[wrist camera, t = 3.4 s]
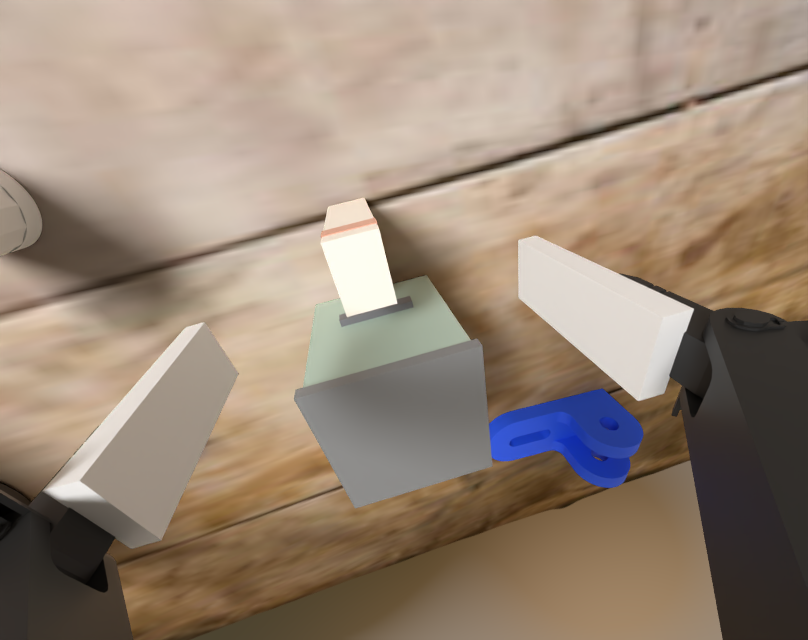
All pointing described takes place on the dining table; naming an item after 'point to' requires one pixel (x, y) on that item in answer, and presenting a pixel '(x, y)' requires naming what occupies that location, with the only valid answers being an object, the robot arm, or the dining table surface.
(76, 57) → the dining table surface
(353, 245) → the pink striped cream block
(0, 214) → the cup
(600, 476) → the bracket
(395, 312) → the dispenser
